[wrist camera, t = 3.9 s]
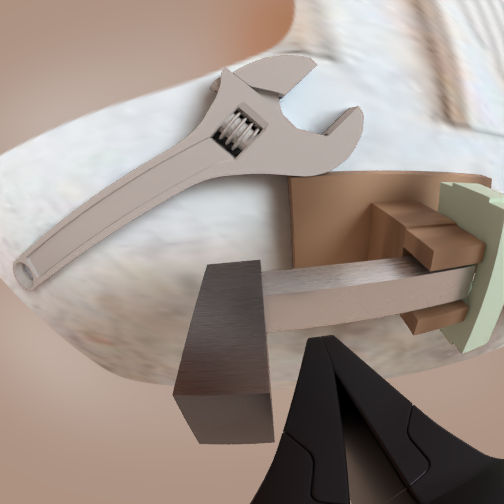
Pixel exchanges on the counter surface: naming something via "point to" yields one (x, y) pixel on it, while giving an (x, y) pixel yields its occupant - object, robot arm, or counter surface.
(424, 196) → the stand
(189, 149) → the adjustable wrench
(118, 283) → the counter surface
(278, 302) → the shaft
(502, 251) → the spacer
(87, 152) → the counter surface
